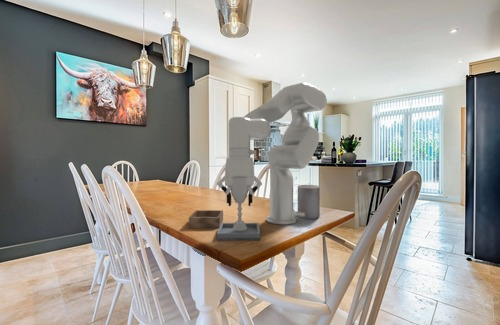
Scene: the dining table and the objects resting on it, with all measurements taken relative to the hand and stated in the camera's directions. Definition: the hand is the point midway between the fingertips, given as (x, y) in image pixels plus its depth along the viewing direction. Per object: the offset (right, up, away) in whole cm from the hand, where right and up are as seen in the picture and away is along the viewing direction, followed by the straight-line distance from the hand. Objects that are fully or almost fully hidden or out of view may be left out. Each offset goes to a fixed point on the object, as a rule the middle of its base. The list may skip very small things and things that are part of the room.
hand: (239, 204), depth 82 cm
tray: (0, -10, 0) cm, 10 cm away
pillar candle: (+30, -10, +24) cm, 40 cm away
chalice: (0, -8, 0) cm, 8 cm away
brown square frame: (-14, -10, +13) cm, 21 cm away
